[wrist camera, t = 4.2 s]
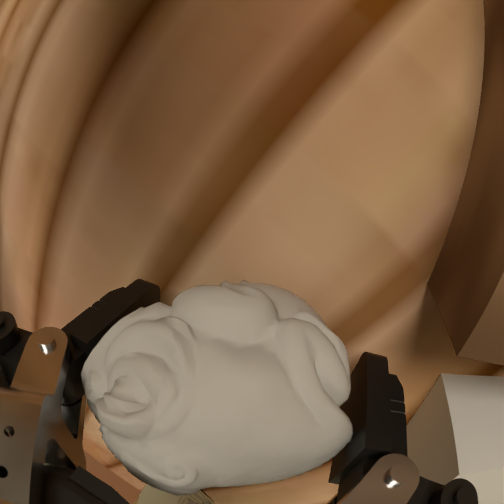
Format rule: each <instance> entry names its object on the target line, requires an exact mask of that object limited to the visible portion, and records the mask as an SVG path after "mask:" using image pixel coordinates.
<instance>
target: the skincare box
mask: <svg viewBox="0 0 504 504" xmlns="http://www.w3.org/2000/svg"><path fill="white" fill-rule="evenodd" d="M134 504H214V502H213V501H212V500H211V499H210V498H208V497H207V496H206V495H205V494H204V493H203V492H202V491H201V490H199V491H198V492H197V494H190V495H180V496H177V495H173V494H172V493H168V492H165V491H162V490H159V489H157V488H154V487H152V486H150V485H148V484H146V485H145V487H144V488H143V490H142V491H141V493H140V495H139V497H138V498H137V500H136V502H135V503H134Z"/></svg>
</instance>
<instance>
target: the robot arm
mask: <svg viewBox="0 0 504 504" xmlns="http://www.w3.org/2000/svg"><path fill="white" fill-rule="evenodd" d="M157 302H160V288H159V286H157V285H155V284H152V283H150V282H147V281H144V280H142V279H137V280H135V281H134V282H133V283H131V284H130V285H129V286H128V287H126V288H124V287H121V288H119V289H116V290H113V291H110V292H109V293H107V294H106V295H105V296H103V297H102V298H101V299H100V301H97V302H96V303H94V304H93V305H92V307H89V308H88V309H86V310H85V311H84V312H82V313H81V314H80V315H79V316H77V317H76V318H75V319H74V320H72V321H71V322H70V323H68V324H67V325H66V326H65V327H63V328H62V329H61V330H60V329H58V328H55V327H44V328H41V329H38V330H36V331H35V332H34V333H32V332H29V331H26V330H23V329H20V328H18V327H17V324H16V321H15V318H14V316H13V315H12V314H11V313H8V312H0V504H129V503H128V502H127V501H126V500H125V499H124V498H123V497H122V496H121V495H119V494H118V493H117V492H116V491H115V490H114V489H113V488H112V487H111V486H109V485H107V484H106V483H104V482H103V481H101V480H100V479H98V478H96V477H95V476H93V475H92V474H91V473H89V472H88V471H86V459H85V454H84V451H83V444H82V441H83V429H84V418H85V409H86V401H87V398H86V395H85V389H84V387H83V383H82V378H81V372H82V369H83V366H84V363H85V361H86V360H87V358H88V356H89V355H90V353H91V352H92V350H93V349H94V348H95V346H96V345H97V344H98V342H99V341H100V340H101V338H102V337H103V336H104V335H105V334H106V333H107V332H108V331H109V330H110V328H111V327H112V326H113V325H114V324H116V323H117V322H118V321H119V320H120V319H122V318H123V317H125V316H127V315H128V314H130V313H132V312H134V311H136V310H137V309H139V308H141V307H143V308H146V307H148V306H150V305H152V304H155V303H157ZM350 382H351V390H350V394H349V397H348V399H347V400H346V401H345V402H344V403H343V404H342V405H340V409H341V410H342V411H344V412H345V414H346V415H347V416H348V417H349V419H350V421H351V424H352V428H353V435H352V438H351V441H350V442H349V443H347V444H346V446H345V447H344V448H343V449H342V450H341V451H339V453H338V454H337V455H336V456H334V457H333V460H332V466H331V471H330V477H329V482H328V483H334V484H339V489H338V494H336V495H335V496H334V497H333V498H332V499H331V500H330V501H329V502H328V503H327V504H478V495H477V491H476V489H475V487H474V485H473V484H472V483H471V482H470V481H468V480H466V479H462V478H457V479H454V480H452V481H450V482H448V483H447V484H446V485H442V484H439V483H436V482H434V481H431V480H428V479H426V478H424V477H422V476H420V475H419V470H418V468H417V466H416V464H415V463H414V462H413V461H412V460H411V459H410V458H408V454H407V430H406V415H405V404H404V392H403V387H402V385H401V383H400V381H399V379H398V378H397V376H396V375H393V374H389V372H388V360H387V357H385V356H381V355H377V354H373V353H369V352H364V353H363V354H362V356H361V358H360V359H359V361H358V363H357V365H356V367H355V369H354V370H353V372H352V374H351V376H350Z"/></svg>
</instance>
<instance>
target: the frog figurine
mask: <svg viewBox="0 0 504 504" xmlns="http://www.w3.org/2000/svg"><path fill="white" fill-rule="evenodd" d="M81 378H82V383H83V387H84V389H85V395H86V398H87V403H88V405H89V407H90V409H91V411H92V412H93V413H94V415H95V418H96V419H97V420H98V422H99V423H100V424H101V426H100V429H99V430H100V431H101V432H102V438H103V440H104V442H105V444H106V445H107V447H108V449H109V450H110V451H111V452H112V454H114V455H115V458H118V459H119V460H120V461H121V462H122V463H123V465H124V466H125V467H126V468H127V470H128V472H130V473H131V474H132V475H134V476H135V477H136V478H138V479H139V480H141V481H142V482H144V483H146V484H148V485H150V486H152V487H154V488H157V489H159V490H162V491H165V492H168V493H172V494H173V495H177V496H180V495H190V494H197V492H198V491H199V490H200V489H204V488H209V487H229V486H235V487H236V486H243V485H252V484H261V483H271V482H274V481H280V480H283V479H285V478H290V477H293V476H296V475H301V474H303V473H305V472H308V471H310V470H312V469H314V468H316V467H320V466H321V465H322V464H323V463H325V462H327V461H329V460H330V459H331V458H333V457H334V456H336V455H337V454H338V453H339V451H341V450H342V449H343V448H344V447H345V446H346V444H347V443H349V442H350V441H351V438H352V435H353V428H352V424H351V421H350V419H349V417H348V416H347V415H346V414H345V412H344V411H342V410H341V409H340V408H339V406H340V405H342V404H343V403H344V402H345V401H346V400H347V399H348V397H349V394H350V390H351V382H350V369H349V361H348V353H347V351H346V348H345V346H344V344H343V342H342V341H341V340H340V338H339V337H338V336H336V335H335V334H334V333H333V332H332V331H331V330H330V329H329V328H328V327H327V326H326V325H325V323H324V322H323V320H322V319H321V317H320V316H319V315H318V314H317V312H316V311H315V310H314V309H313V308H312V307H311V306H310V305H309V304H307V303H306V302H305V301H304V300H302V299H301V298H299V297H298V296H296V295H295V294H293V293H291V292H289V291H287V290H285V289H282V288H279V287H276V286H273V285H268V284H262V283H249V282H248V281H246V280H244V281H241V282H240V283H238V284H232V283H230V282H228V281H224V282H222V283H221V286H215V285H202V286H196V287H192V288H189V289H186V290H184V291H182V292H181V293H179V294H178V296H177V297H176V298H175V299H174V301H173V303H172V307H171V306H168V305H166V304H164V303H162V302H157V303H155V304H152V305H150V306H148V307H146V308H143V307H141V308H139V309H137V310H136V311H134V312H132V313H130V314H128V315H127V316H125V317H123V318H122V319H120V320H119V321H118V322H117V323H116V324H114V325H113V326H112V327H111V328H110V330H109V331H108V332H107V333H106V334H105V335H104V336H103V337H102V338H101V340H100V341H99V342H98V344H97V345H96V346H95V348H94V349H93V350H92V352H91V353H90V355H89V356H88V358H87V360H86V361H85V363H84V366H83V369H82V372H81Z"/></svg>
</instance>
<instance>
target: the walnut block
mask: <svg viewBox="0 0 504 504" xmlns="http://www.w3.org/2000/svg"><path fill="white" fill-rule="evenodd" d="M484 17H485V52H484V70H483V82H482V92H481V100H480V107H479V114H478V120H477V126H476V132H475V137H474V142H473V147H472V151H471V156H470V160H469V164H468V168H467V172H466V176H465V180H464V184H463V187H462V191H461V194H460V197H459V201H458V204H457V207H456V210H455V213H454V216H453V219H452V222H451V225H450V228H449V231H448V234H447V237H446V239H445V242H444V245H443V247H442V250H441V252H440V255H439V257H438V260H437V262H436V265H435V267H434V270H433V272H432V274H431V276H430V279H429V281H428V283H427V284H428V287H429V289H430V291H431V293H432V295H433V297H434V300H435V302H436V304H437V307H438V309H439V311H440V314H441V316H442V318H443V321H444V323H445V326H446V328H447V331H448V333H449V336H450V338H451V341H452V344H453V346H454V349H455V352H456V355H457V356H458V357H463V358H468V359H473V360H478V361H483V362H488V363H493V364H498V365H504V0H484Z"/></svg>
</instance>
